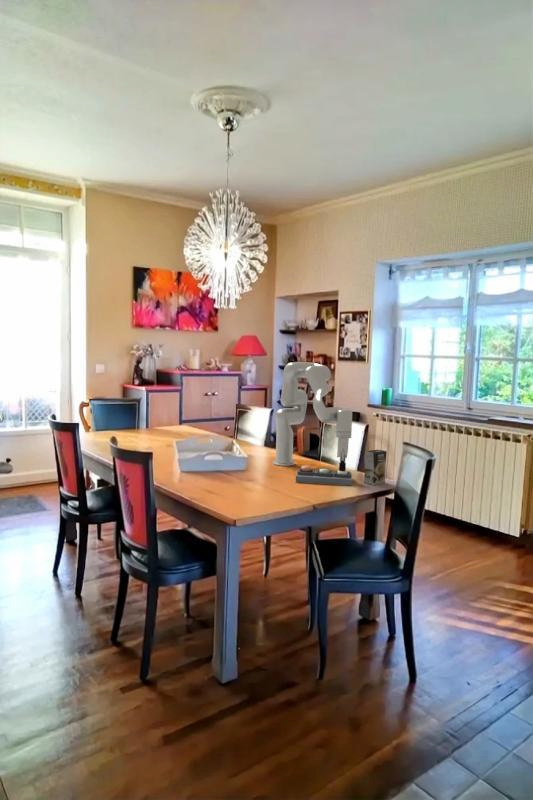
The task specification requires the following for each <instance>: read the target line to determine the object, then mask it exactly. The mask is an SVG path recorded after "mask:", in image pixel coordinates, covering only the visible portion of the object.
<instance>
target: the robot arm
mask: <svg viewBox="0 0 533 800" xmlns="http://www.w3.org/2000/svg"><path fill="white" fill-rule="evenodd" d="M282 375H283V381H282V382H283V383H282V388H281V394H280V404H281V405H282V406H283V407H285V408H280V409H278V410H277V411H276V412H275V415H274V419H275V427H276V428H275V429H276V435H275V436H276V438H275V439H276V440H275V441H276V442H275V460H273V461H272V464H273V465H276V466H280V467H281V466H282V467H283V466H285V467H290V466H294V465H296V461H294V460H293V456H294V454H293V453H294V432H293V431H294V430H293V428H292V425H300V424H302V423H303V422H304V421H305V418H306V411H307V406H308V394H307V392H306V391H305V390H304V389H301V388H299V380H298V378H299V379H300V378H301V379H302V378H303V379H305V378H306V381H307V383H308V385H309V386H310V389H311V391H312V392H313V394H314V397H313V403H312V406H313V411H314V413H315V414H316V417H317V419H318V420H319V421H320V422H321V423H325V424H327V423H328V424H330V423H336V429H335V437H336V438H337V448H336V449H337V451H336V458H339V463H338V470H339V471H346V470H347V469H346V467H347V466H346V463H347V462H346V459H347V458H348V454H349V441H350V439H351V438H352V431H353V430H352V429H353V428H352V426H353V411H352V410H351V409H348V408H347V409H346V408H343V407H338V406H335V407H334V406H332V407H326V406H325V403H324V401H323V397H325V396H326V395H328V393H329V392H330V390H331V389H330V386H329V384H328V381H329V380H330V379H331V376H332V373H331V369H330V368H329V367H328V366H327V365H324V364H319V363H316V362H308V361H307V362H305V361H294V362H288V363H287V364H286V365H285V366H284V369H283V374H282Z"/></svg>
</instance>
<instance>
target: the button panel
mask: <svg viewBox="0 0 533 800" xmlns="http://www.w3.org/2000/svg"><path fill="white" fill-rule="evenodd" d="M337 471H338V470H334V471H333V470H330V469H329V473H319V469H313V468H311V471H310V472H304V471H301V468H298V470H297V473H296V475H295V483H300V482H301V483H303V484H305V483H306V484H316V483H320V484H319V485H331V484H336V486H346V485H351V486H352V483H353V482H352V479H353V478H352V472H351V471H348V470H347V471H348V475H347V474H337Z"/></svg>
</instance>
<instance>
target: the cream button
mask: <svg viewBox="0 0 533 800" xmlns="http://www.w3.org/2000/svg"><path fill="white" fill-rule="evenodd" d="M336 471H337V474H347V475H348V470H347V469H346V471H339V469H337V470H336Z"/></svg>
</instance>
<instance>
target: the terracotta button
mask: <svg viewBox="0 0 533 800" xmlns="http://www.w3.org/2000/svg"><path fill="white" fill-rule="evenodd" d="M300 469H301V471H304V472H310V471H311V469H312V466H311V465H301V467H300Z"/></svg>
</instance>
